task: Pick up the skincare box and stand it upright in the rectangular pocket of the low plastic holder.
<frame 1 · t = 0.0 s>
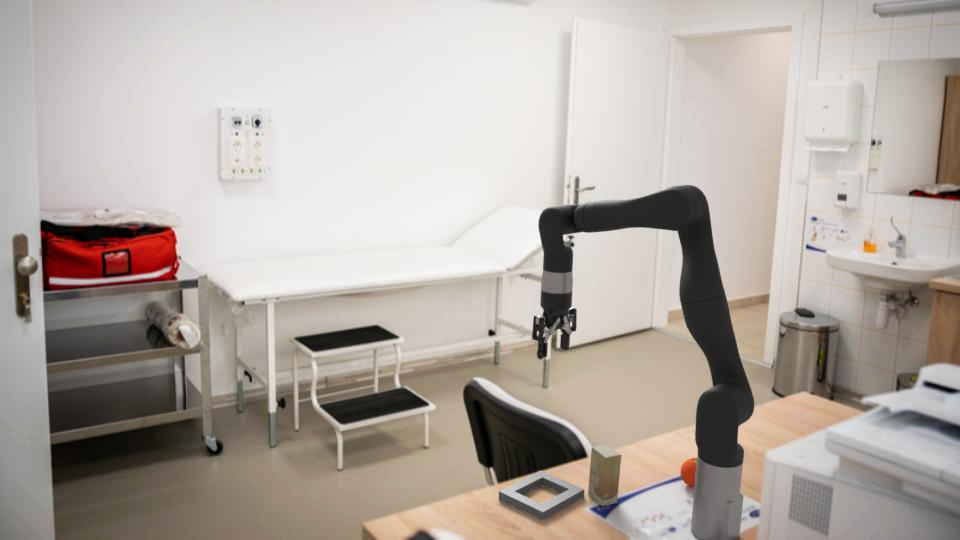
hand: (553, 352, 194), 29 cm above the table, tool pointing down, fingers open, 8 cm apart
skincare box: (602, 499, 183), on the table
holder: (541, 498, 182), on the table
clementine: (695, 488, 190), on the table
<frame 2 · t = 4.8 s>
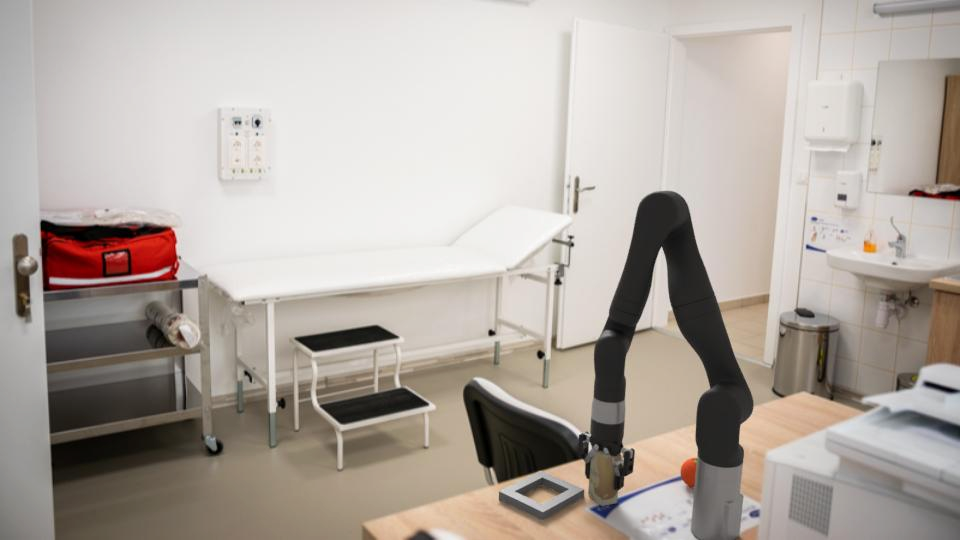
hand: (603, 483, 182), 4 cm above the table, tool pointing down, fingers closed on skincare box, 7 cm apart
skincare box: (602, 499, 183), on the table, touching gripper
everything else where it was.
when the fingers open (5 cm above the table, at t = 11.1 s): skincare box drops 1 cm, resting in holder.
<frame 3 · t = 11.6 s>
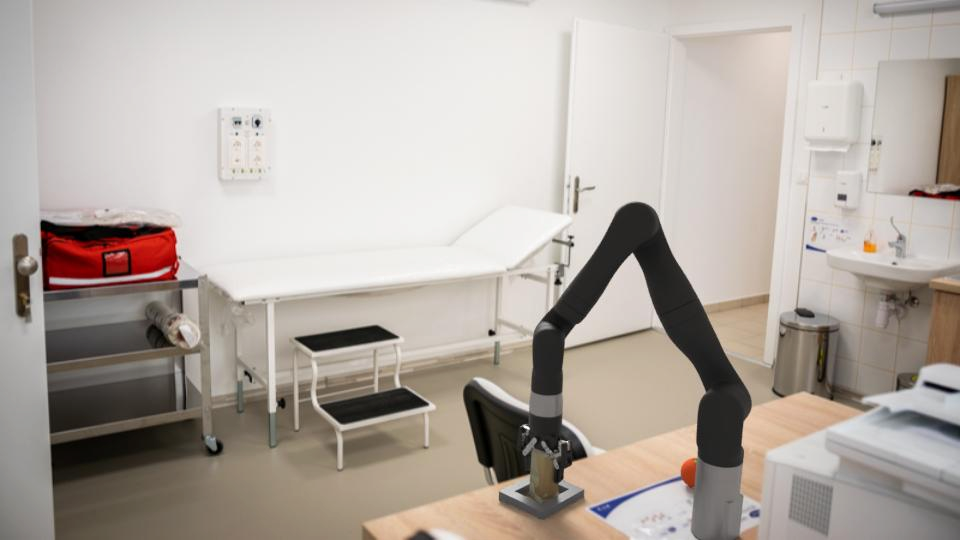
hand: (543, 476, 181), 6 cm above the table, tool pointing down, fingers open, 8 cm apart
skincare box: (543, 499, 182), resting in holder, touching gripper
everything else where it was.
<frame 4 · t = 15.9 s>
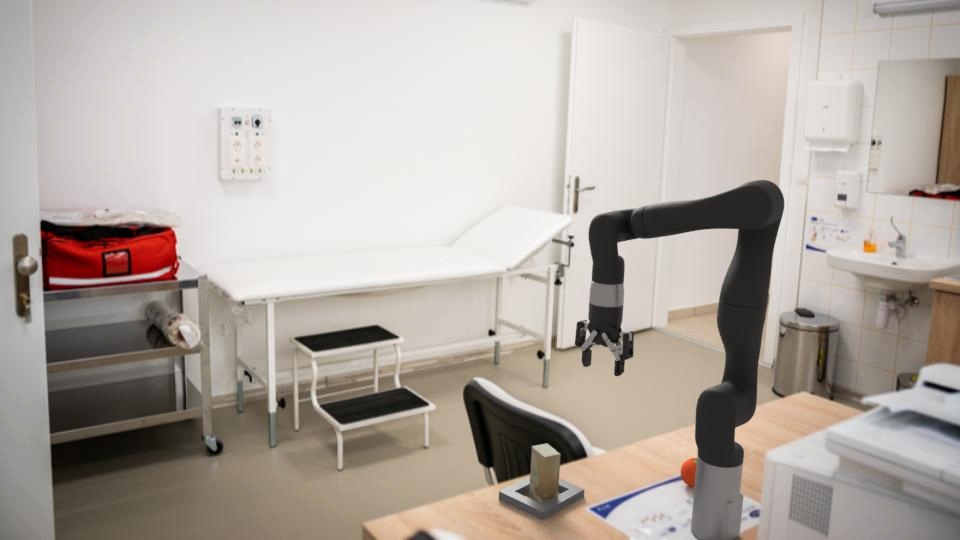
hand: (602, 370, 179), 30 cm above the table, tool pointing down, fingers open, 8 cm apart
skincare box: (543, 499, 182), resting in holder
everything else where it was.
at the end: skincare box 0.5 cm off-centre on the holder, point 0.0 cm above the holder's base; skincare box tilted 0°; the gripper is holding nothing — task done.
